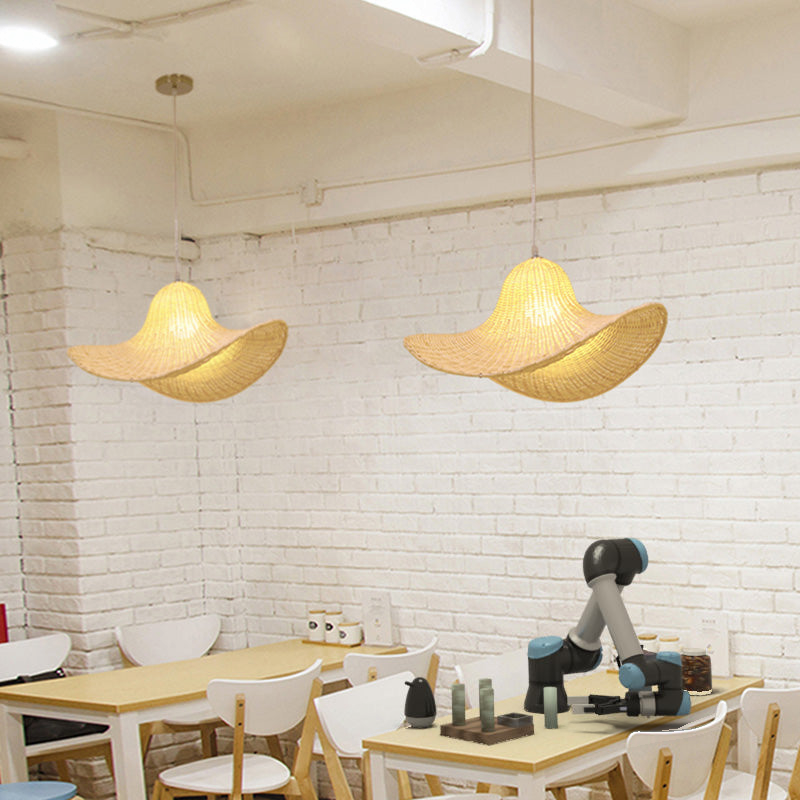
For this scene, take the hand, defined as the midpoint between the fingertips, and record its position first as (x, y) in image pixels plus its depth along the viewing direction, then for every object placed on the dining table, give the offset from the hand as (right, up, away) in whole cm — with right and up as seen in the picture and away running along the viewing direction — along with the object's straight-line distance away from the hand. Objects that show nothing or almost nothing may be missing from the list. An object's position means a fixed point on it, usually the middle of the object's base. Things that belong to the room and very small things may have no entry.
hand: (569, 705), depth 362 cm
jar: (+52, -9, +52) cm, 74 cm away
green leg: (-6, -7, 0) cm, 9 cm away
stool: (-26, -7, -8) cm, 28 cm away
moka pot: (+28, -9, +33) cm, 44 cm away
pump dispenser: (-46, -9, +6) cm, 47 cm away
